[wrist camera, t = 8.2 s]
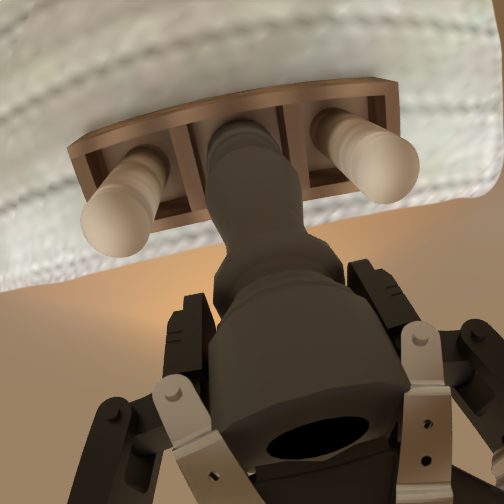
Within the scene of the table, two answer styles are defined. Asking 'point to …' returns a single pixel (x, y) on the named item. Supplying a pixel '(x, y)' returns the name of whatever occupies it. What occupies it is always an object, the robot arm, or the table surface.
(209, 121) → the wooden candle tray
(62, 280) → the table surface
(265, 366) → the candle holder
